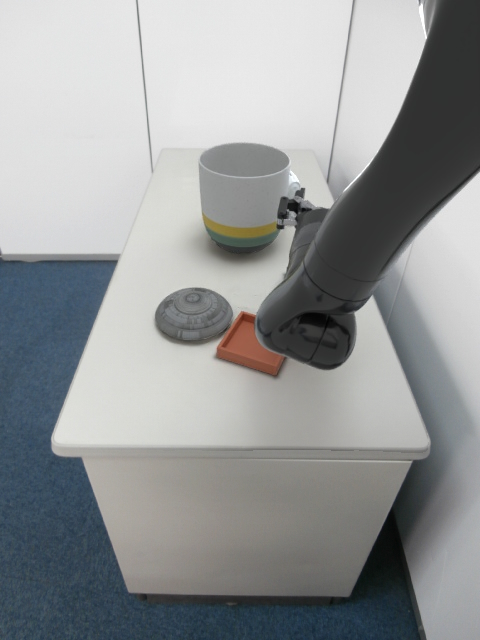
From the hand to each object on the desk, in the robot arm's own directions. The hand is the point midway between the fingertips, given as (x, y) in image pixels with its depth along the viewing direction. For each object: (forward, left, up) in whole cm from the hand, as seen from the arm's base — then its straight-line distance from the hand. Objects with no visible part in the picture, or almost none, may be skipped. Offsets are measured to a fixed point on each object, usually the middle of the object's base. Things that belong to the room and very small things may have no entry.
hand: (329, 196), depth 72 cm
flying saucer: (+21, +9, -26) cm, 35 cm away
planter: (+23, -20, -26) cm, 40 cm away
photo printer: (+19, -39, -26) cm, 51 cm away
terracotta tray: (+7, +11, -26) cm, 29 cm away
